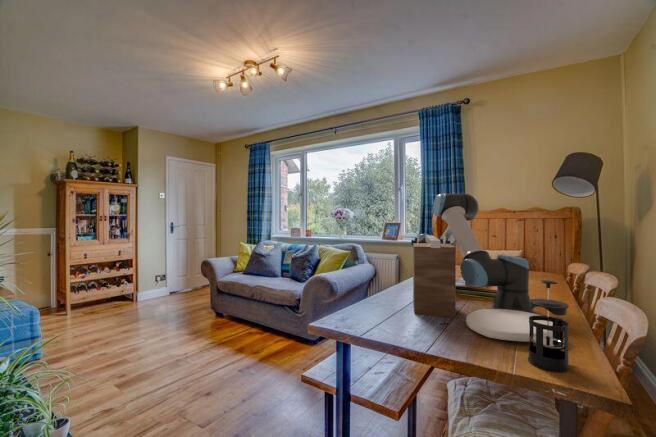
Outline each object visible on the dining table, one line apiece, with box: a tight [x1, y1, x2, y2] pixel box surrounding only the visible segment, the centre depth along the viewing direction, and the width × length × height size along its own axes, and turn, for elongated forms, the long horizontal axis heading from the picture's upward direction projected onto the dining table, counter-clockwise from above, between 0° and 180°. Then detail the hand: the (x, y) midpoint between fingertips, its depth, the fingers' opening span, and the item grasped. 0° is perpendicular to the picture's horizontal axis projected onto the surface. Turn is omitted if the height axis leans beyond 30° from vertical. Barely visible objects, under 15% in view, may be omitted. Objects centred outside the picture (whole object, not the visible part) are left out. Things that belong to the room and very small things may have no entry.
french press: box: [527, 279, 571, 373], centre depth 86 cm, size 12×9×23 cm
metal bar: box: [426, 234, 440, 248], centre depth 139 cm, size 32×4×3 cm, turn 166°
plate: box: [465, 308, 553, 343], centre depth 110 cm, size 28×6×27 cm
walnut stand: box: [412, 243, 457, 318], centre depth 135 cm, size 16×16×28 cm
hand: (431, 236), depth 163 cm, fingers open, 13 cm apart
